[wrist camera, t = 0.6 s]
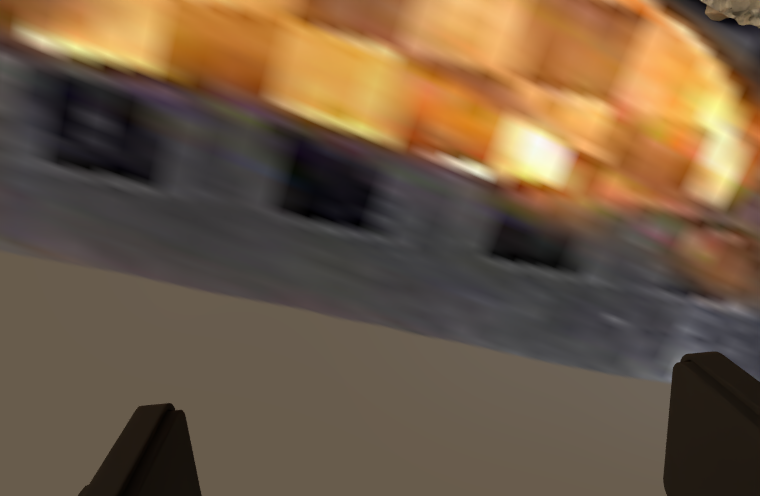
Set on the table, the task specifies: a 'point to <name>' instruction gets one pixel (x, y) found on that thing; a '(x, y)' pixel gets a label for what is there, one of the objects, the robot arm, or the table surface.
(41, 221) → the table surface
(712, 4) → the tan cratered rock
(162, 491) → the robot arm
